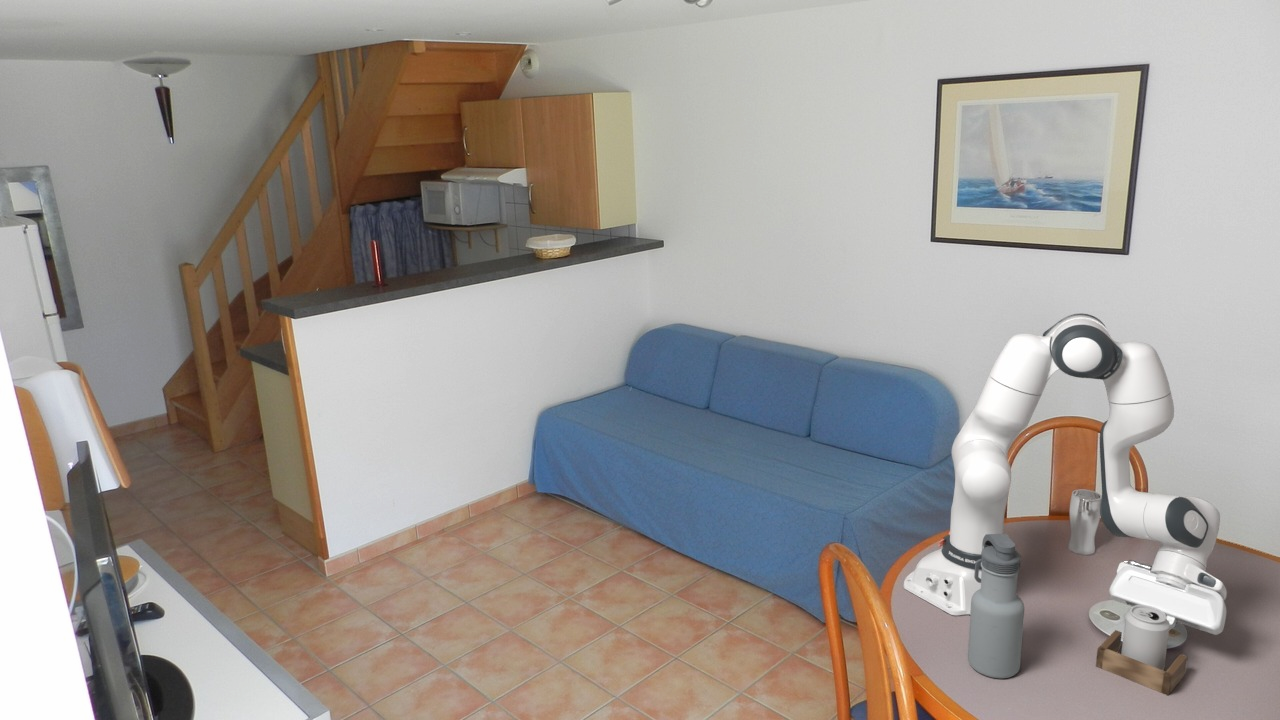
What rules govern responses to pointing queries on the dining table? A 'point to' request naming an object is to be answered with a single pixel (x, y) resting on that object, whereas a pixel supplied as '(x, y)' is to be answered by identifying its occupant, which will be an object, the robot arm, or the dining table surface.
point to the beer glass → (1084, 520)
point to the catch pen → (1139, 667)
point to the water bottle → (996, 610)
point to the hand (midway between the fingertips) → (1154, 635)
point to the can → (1146, 635)
